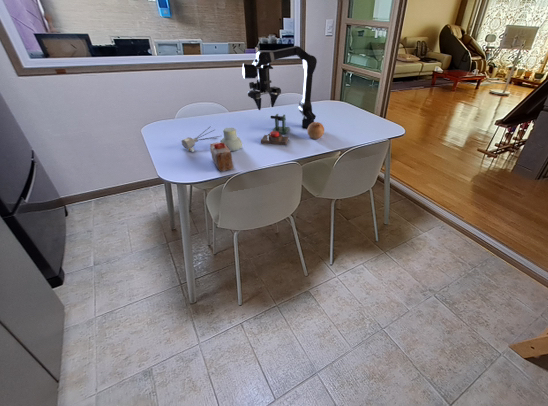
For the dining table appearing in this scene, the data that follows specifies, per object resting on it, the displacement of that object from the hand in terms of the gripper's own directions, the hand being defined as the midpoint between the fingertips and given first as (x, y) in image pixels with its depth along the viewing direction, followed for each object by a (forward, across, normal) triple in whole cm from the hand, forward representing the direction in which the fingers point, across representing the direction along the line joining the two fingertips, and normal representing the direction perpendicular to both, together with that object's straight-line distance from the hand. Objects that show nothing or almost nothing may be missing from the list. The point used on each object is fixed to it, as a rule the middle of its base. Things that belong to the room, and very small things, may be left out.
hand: (266, 108), depth 157 cm
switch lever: (+5, -2, +8) cm, 9 cm away
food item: (+13, +42, +19) cm, 48 cm away
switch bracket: (+13, -6, +5) cm, 15 cm away
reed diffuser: (+13, +36, -8) cm, 39 cm away
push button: (+9, +8, +15) cm, 20 cm away
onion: (+13, -13, +26) cm, 32 cm away
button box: (+13, +8, +15) cm, 22 cm away
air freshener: (+13, +29, +7) cm, 33 cm away
